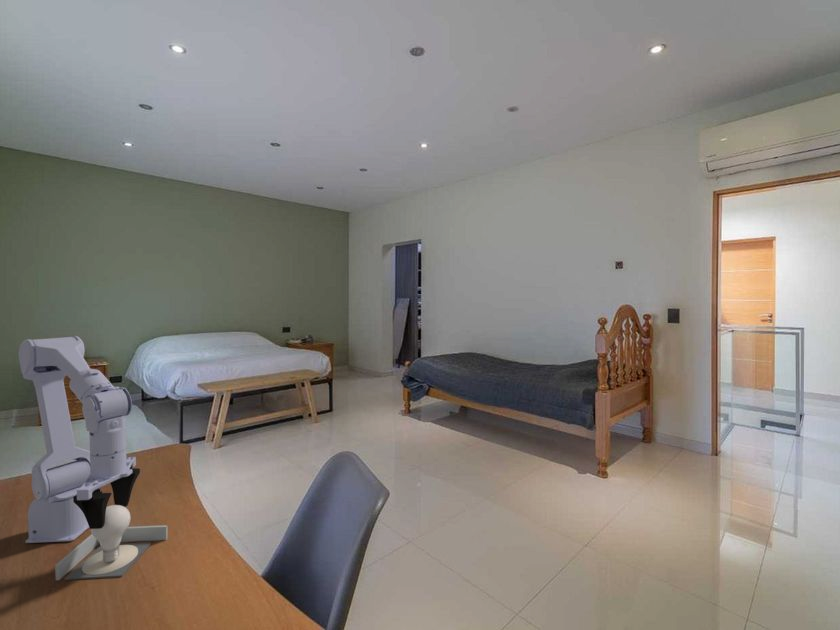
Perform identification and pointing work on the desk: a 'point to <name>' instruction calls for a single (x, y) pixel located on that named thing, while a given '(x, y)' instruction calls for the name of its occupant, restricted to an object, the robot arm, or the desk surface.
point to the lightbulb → (112, 531)
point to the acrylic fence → (91, 542)
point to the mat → (108, 563)
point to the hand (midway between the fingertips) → (109, 516)
